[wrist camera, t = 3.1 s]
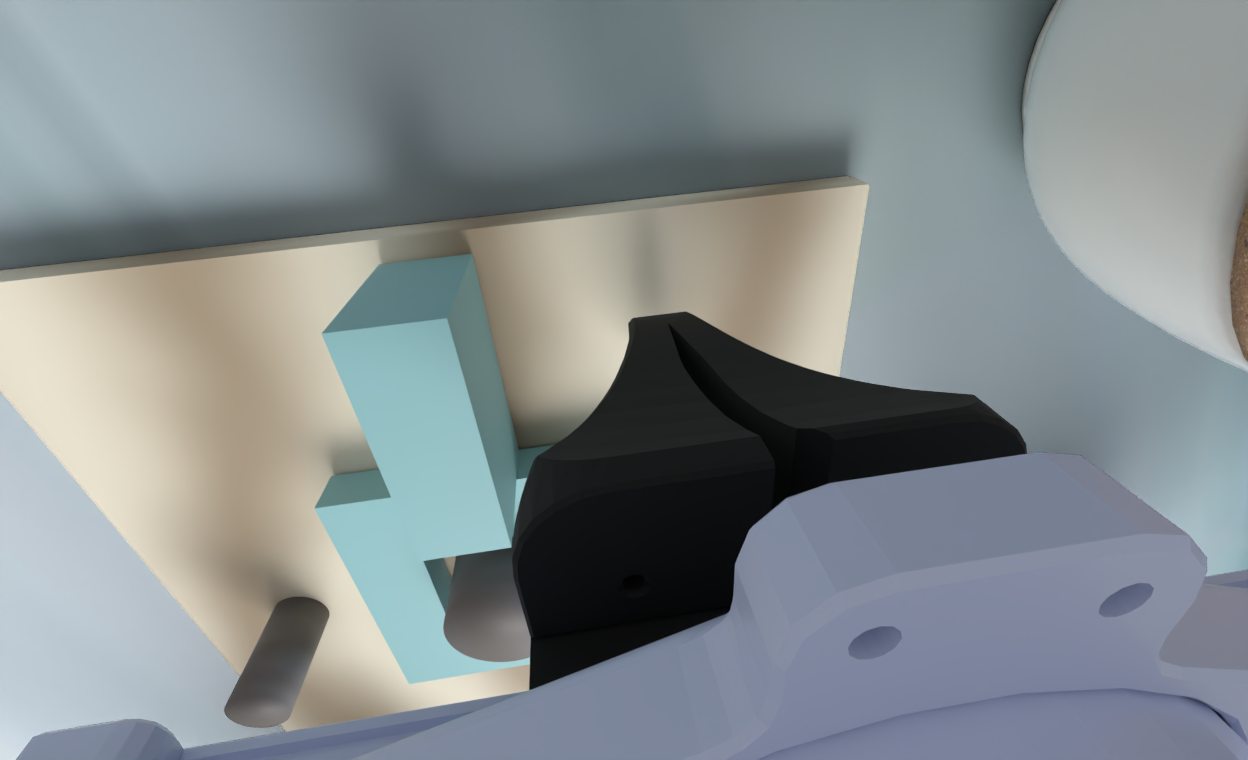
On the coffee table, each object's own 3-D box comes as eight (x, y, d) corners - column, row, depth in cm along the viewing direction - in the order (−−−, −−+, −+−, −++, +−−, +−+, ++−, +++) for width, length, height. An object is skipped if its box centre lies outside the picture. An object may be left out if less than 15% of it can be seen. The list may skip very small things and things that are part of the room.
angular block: (644, 612, 19) (662, 712, 16) (416, 649, 18) (392, 760, 15) (608, 237, 12) (628, 296, 9) (234, 280, 11) (125, 357, 8)
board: (848, 176, 13) (958, 218, 9) (782, 652, 23) (823, 753, 20) (-36, 274, 11) (-283, 364, 8) (317, 731, 22) (275, 853, 19)
